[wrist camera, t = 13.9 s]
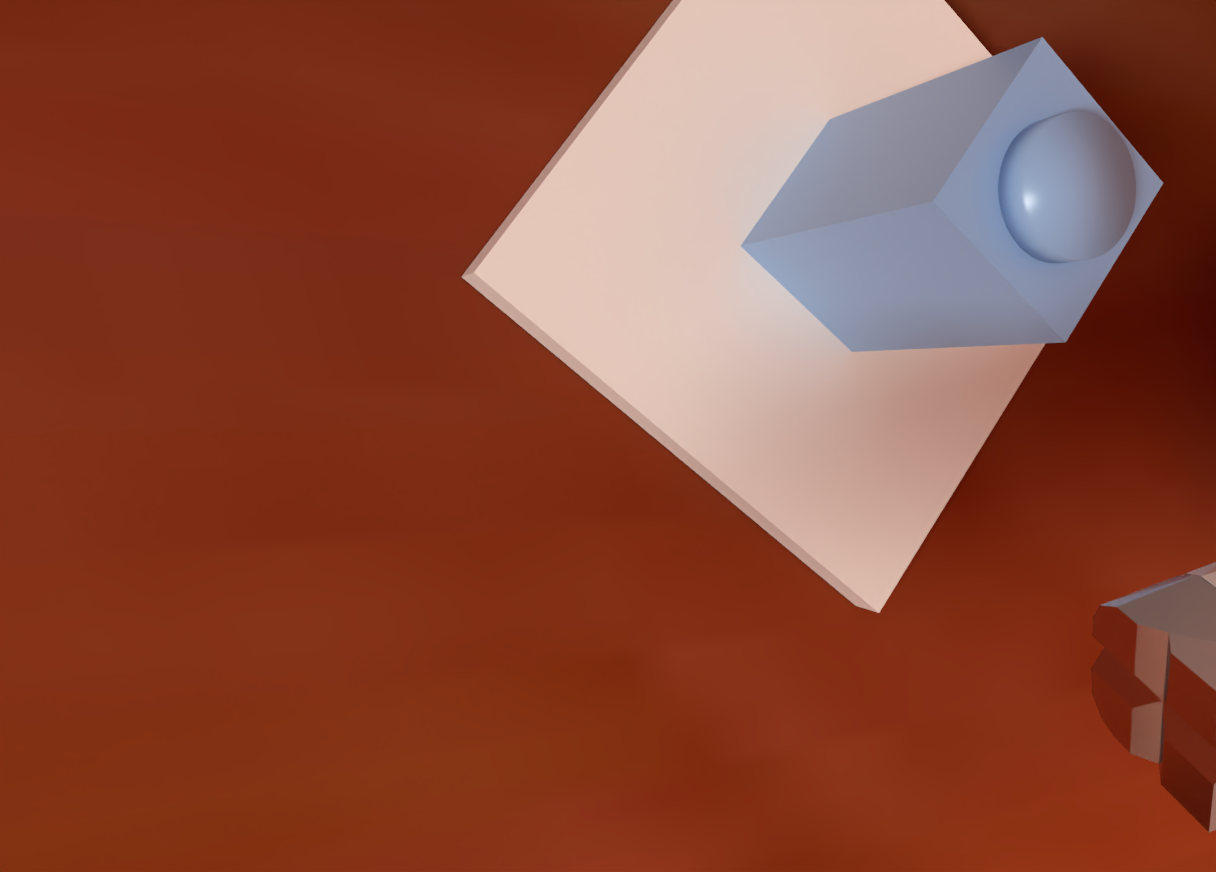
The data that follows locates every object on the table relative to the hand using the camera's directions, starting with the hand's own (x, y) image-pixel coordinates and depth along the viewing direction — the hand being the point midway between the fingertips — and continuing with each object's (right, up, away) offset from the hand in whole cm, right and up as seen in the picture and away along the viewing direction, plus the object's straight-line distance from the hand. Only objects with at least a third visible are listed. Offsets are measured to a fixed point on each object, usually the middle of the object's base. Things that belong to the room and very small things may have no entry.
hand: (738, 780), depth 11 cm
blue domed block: (+6, +9, +21) cm, 24 cm away
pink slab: (+5, +9, +22) cm, 25 cm away
